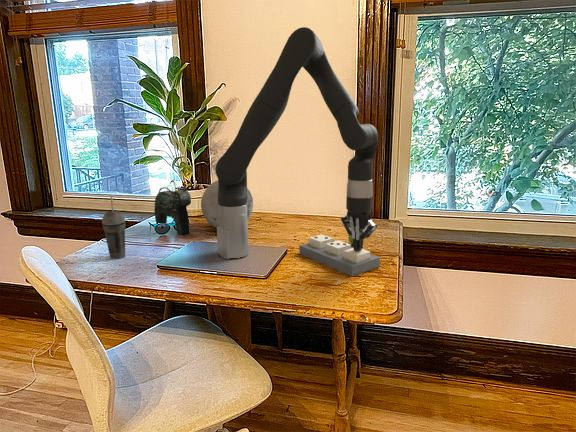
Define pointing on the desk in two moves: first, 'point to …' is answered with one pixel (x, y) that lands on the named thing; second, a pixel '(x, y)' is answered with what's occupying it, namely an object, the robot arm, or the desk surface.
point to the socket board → (338, 260)
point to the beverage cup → (114, 232)
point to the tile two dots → (320, 241)
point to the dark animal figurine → (173, 208)
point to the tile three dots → (337, 247)
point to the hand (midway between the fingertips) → (357, 250)
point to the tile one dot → (356, 255)
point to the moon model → (211, 204)
